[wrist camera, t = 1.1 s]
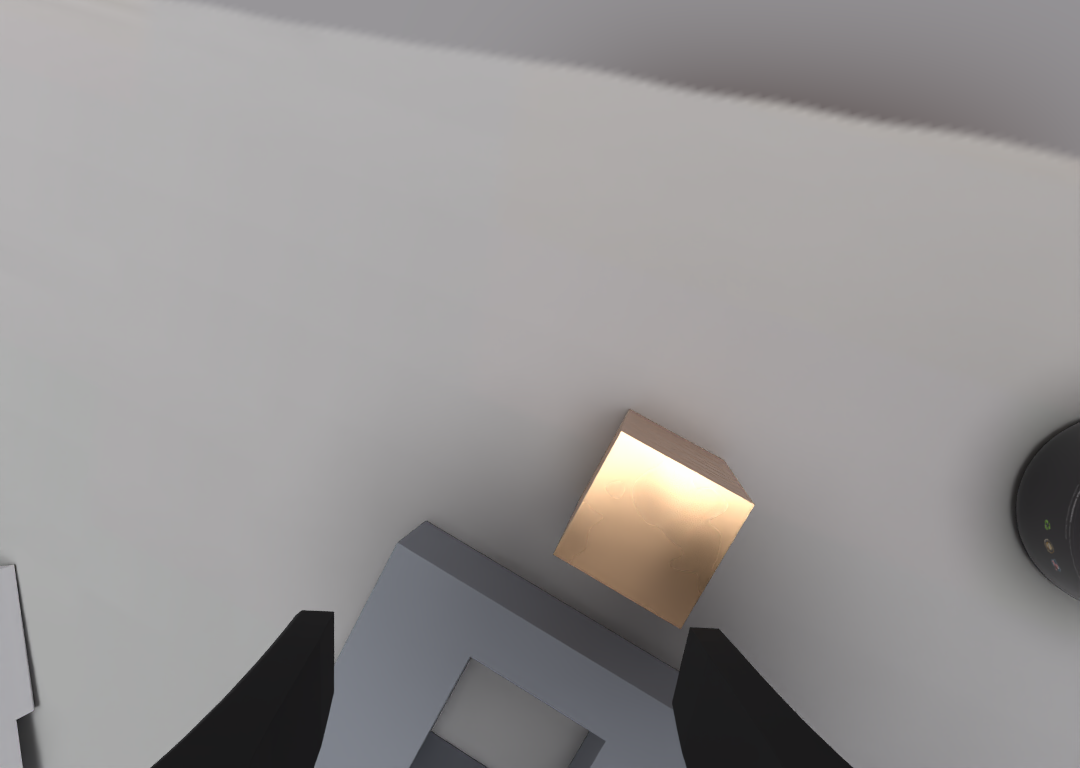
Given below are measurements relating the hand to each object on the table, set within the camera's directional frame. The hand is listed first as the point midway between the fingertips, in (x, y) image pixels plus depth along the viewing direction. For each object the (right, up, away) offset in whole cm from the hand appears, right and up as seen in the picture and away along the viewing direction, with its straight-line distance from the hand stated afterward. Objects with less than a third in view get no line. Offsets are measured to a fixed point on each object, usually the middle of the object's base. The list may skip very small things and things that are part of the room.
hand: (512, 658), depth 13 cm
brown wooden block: (+5, +2, +12) cm, 13 cm away
